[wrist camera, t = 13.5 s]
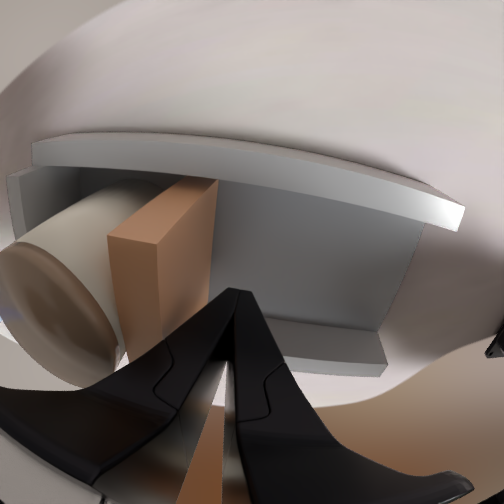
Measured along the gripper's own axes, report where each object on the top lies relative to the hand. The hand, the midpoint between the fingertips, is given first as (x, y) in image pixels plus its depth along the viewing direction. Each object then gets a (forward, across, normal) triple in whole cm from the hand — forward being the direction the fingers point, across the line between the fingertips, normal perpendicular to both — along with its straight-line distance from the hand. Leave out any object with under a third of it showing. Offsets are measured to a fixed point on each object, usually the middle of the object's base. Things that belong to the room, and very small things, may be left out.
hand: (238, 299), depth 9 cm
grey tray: (+4, +1, 0) cm, 4 cm away
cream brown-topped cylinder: (+4, +5, 0) cm, 6 cm away
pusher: (+3, +2, 0) cm, 4 cm away
